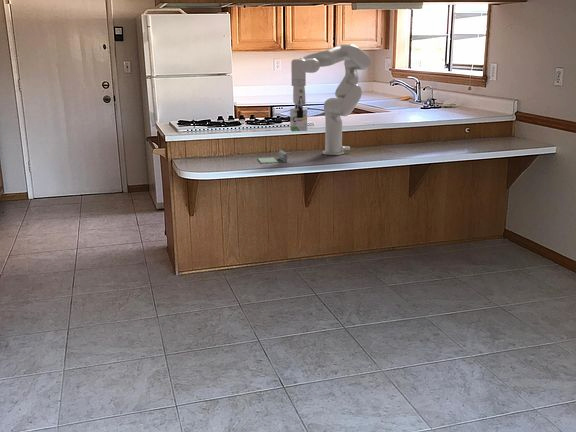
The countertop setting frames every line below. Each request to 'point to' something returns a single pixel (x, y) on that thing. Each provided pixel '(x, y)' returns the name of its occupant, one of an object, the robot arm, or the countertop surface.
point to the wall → (282, 156)
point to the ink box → (298, 120)
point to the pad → (267, 160)
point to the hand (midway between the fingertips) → (298, 116)
